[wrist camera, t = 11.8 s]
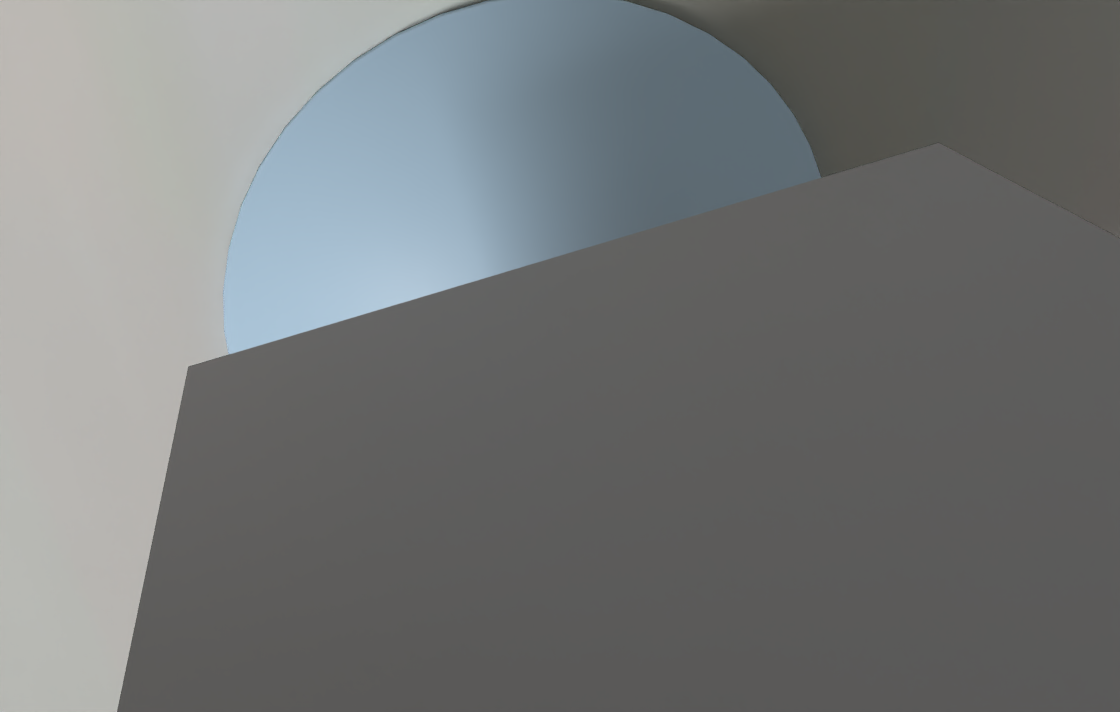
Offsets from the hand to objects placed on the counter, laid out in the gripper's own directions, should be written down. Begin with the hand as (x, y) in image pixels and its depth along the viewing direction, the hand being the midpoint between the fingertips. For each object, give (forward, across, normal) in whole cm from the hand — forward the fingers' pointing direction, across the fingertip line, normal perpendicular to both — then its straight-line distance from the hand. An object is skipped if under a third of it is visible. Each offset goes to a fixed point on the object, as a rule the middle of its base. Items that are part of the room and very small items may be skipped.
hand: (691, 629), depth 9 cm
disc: (+7, 0, 0) cm, 7 cm away
